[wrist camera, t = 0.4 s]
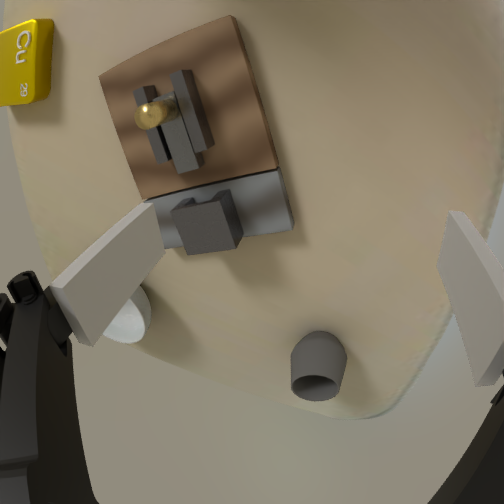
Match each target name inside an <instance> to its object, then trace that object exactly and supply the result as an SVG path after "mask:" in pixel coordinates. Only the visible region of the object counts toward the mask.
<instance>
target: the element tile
mask: <svg viewBox="0 0 504 504" xmlns="http://www.w3.org/2000/svg"><path fill="white" fill-rule="evenodd" d="M53 33H54V22H53V20H52V19H31V20H29V21H26V22H24V23H21V24H18V25H16V26H14V27H11V28H9V29H6V30H4V31H2V32H0V107H2V106H11V105H20V104H30V103H33V102H36V101H40V100H44V99H46V98H47V97H48V95H49V93H50V88H51V60H52V45H53Z"/></svg>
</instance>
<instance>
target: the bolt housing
mask: <svg viewBox="0 0 504 504" xmlns="http://www.w3.org/2000/svg"><path fill="white" fill-rule="evenodd" d="M169 76H170V79H171V82H172V85H173V88H174V91H175V94H176V97H177V100H178V103H179V107H180V110H181V113H182V116H183V119H184V122H185V125H186V128H187V131H188V134H189V137H190V140H191V143H192V146H193V149H194V151H195V153H197V152H201V151H204V150H208V149H209V148H211V147H212V146H214V145H215V142H214V138H213V135H212V132H211V129H210V126H209V123H208V120H207V117H206V114H205V110H204V107H203V104H202V101H201V98H200V95H199V92H198V89H197V86H196V82H195V79H194V76H193V73H192V70H191V69H189V70H179V71H177V72H174V73H172V74H169ZM132 92H133V95H134V98H135V101H136V104H137V107H139V106H141V105H143V104H147V103H151V102H153V100H152V99H155V98H157V97H158V95H157V91H156V88H155V85H149V86H143V87H140V88H138V89H136V90H134V91H132ZM146 133H147V136H148V139H149V142H150V145H151V147H152V150H153V153H154V156H155V158H156V161H157V164H161V163H164V162H167V161H169V160H171V159H172V156H171V153H170V150H169V147H168V144H167V142H166V139H165V136H164V133H163V130H162V127H161V125H159V126H156V127H153V128H151V129H148V130H146ZM170 213H171V216H172V218H173V221H174V223H175V226H176V228H177V231H178V233H179V235H180V238H181V240H182V243H183V245H184V248H185V250H186V252H187V255H194V254H202V253H209V252H216V251H224V250H231V249H236V248H237V246H238V244H239V242H240V241H241V239H242V237H243V235H244V231H243V228H242V225H241V222H240V219H239V216H238V213H237V210H236V207H235V203H234V200H233V197H232V194H231V191H230V189H227V190H222V191H218V192H217V193H216V194H215V196H214V197H213V198H212V199H211V200H208V201H204V202H199V203H195V201H194V198H193V197H191V198H186V199H183V200H182V201H180V202H179V203H178V204H177V205H176V206H175V207H174V208H173V209H172V210H171V211H170Z"/></svg>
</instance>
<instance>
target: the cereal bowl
mask: <svg viewBox="0 0 504 504" xmlns="http://www.w3.org/2000/svg"><path fill="white" fill-rule="evenodd" d="M151 316H152V315H151V307H150V303H149V300H148V297H147V296H146V294H145V292H144V290H143V289H142V287H141V286H140V285H139V286H138V288H137V289H136V290H135V292H134V293H133V294H132V295H131V297H130V298H129V299H128V301H127V302H126V303H125V304H124V306H123V307H122V308H121V310H120V311H119V312H118V314H117V315H116V316H115V318H114V319H113V320H112V322H111V323H110V324H109V326H108V327H107V328H106V330H105V331H104V332H103V334H102V335H104V336H106V337H108V338H110V339H112V340H115V341H118V342H121V343H136V342H138V341H140V340H141V339H142V338H143V337H144V336H145V334H146V332H147V330H148V328H149V325H150V322H151Z"/></svg>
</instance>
